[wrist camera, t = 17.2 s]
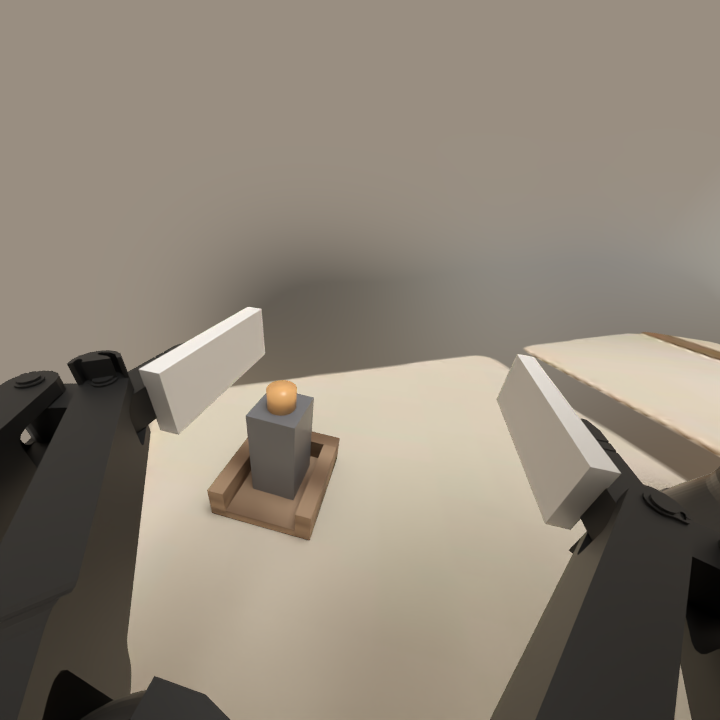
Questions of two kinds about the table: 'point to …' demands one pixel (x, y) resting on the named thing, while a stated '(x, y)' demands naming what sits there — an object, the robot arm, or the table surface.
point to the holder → (272, 511)
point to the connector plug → (280, 439)
